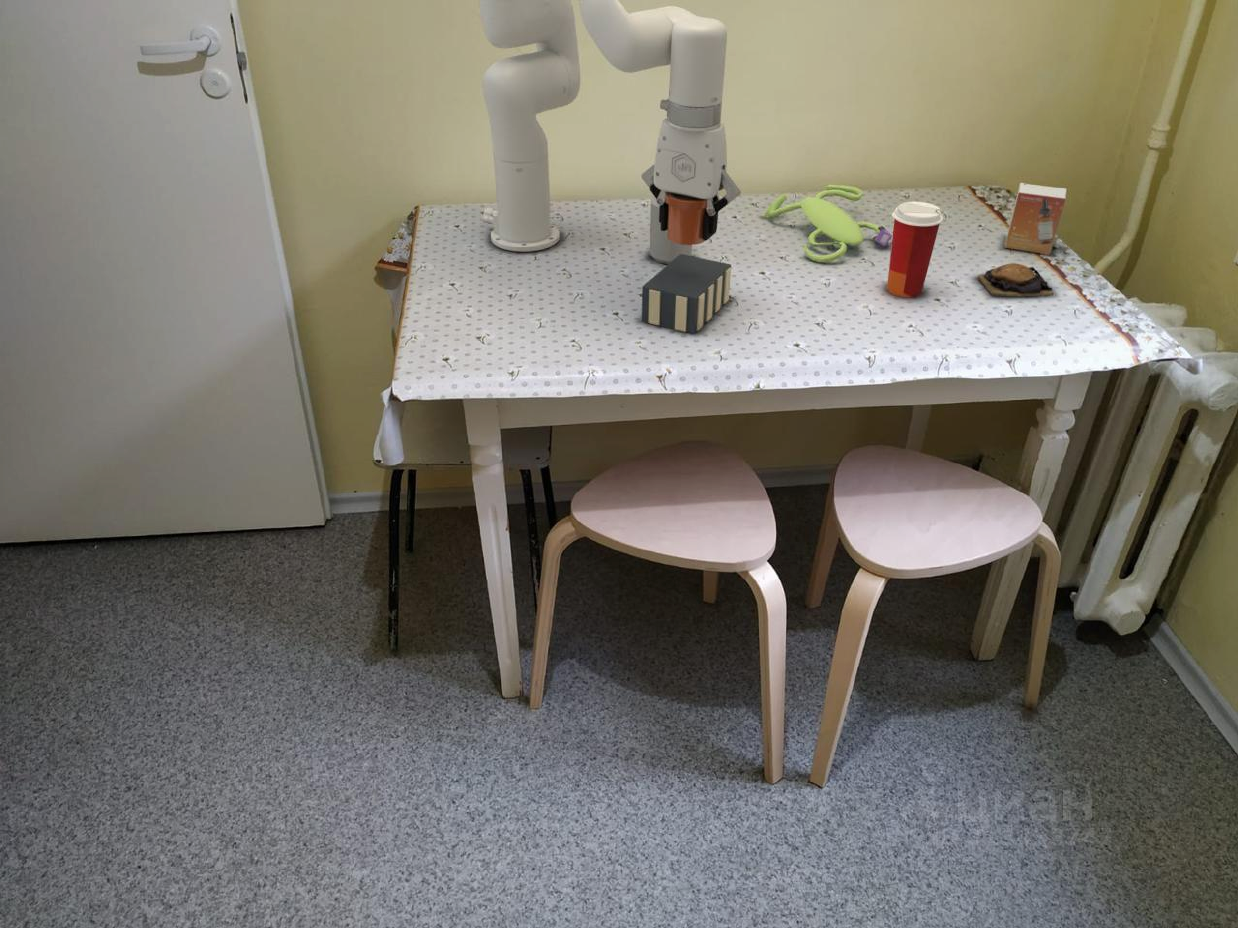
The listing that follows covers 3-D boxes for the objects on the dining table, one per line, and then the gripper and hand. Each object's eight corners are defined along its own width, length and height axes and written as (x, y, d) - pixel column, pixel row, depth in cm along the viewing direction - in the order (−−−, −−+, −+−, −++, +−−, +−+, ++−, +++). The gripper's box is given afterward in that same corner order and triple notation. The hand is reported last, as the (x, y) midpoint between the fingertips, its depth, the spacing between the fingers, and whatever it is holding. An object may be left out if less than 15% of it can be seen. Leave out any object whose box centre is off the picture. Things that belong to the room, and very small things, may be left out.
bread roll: (992, 299, 162) (996, 278, 160) (974, 277, 169) (979, 256, 167) (1055, 297, 163) (1061, 276, 160) (1036, 275, 169) (1041, 255, 167)
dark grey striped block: (640, 322, 155) (641, 287, 151) (678, 287, 165) (680, 253, 162) (695, 335, 151) (696, 299, 148) (730, 299, 162) (733, 264, 158)
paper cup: (930, 284, 166) (946, 203, 158) (926, 303, 161) (942, 220, 152) (882, 277, 169) (896, 197, 160) (877, 296, 163) (890, 214, 155)
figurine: (846, 204, 197) (850, 176, 194) (909, 257, 176) (914, 227, 172) (758, 212, 193) (760, 183, 190) (811, 267, 172) (815, 236, 169)
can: (688, 267, 172) (691, 200, 165) (645, 264, 173) (647, 197, 166) (694, 250, 178) (697, 185, 171) (653, 247, 179) (654, 182, 172)
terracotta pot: (654, 240, 150) (656, 195, 146) (675, 224, 156) (677, 180, 152) (699, 250, 148) (702, 205, 144) (718, 233, 153) (722, 189, 149)
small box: (1003, 248, 179) (1017, 192, 173) (1006, 237, 183) (1019, 181, 177) (1050, 255, 176) (1066, 198, 170) (1052, 244, 181) (1067, 187, 174)
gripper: (628, 110, 141) (625, 230, 152) (741, 130, 135) (730, 253, 145) (651, 97, 147) (647, 213, 157) (761, 116, 140) (749, 235, 151)
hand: (687, 231), depth 151 cm, fingers closed on terracotta pot, 6 cm apart
